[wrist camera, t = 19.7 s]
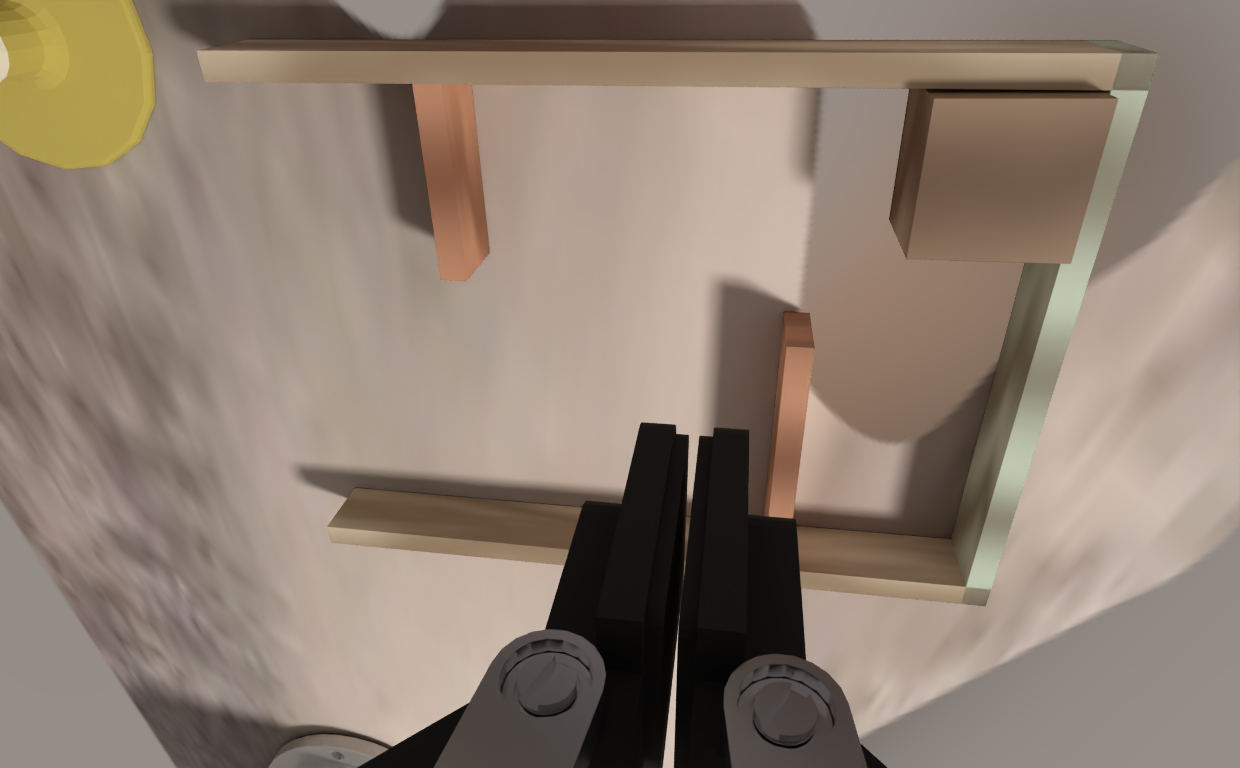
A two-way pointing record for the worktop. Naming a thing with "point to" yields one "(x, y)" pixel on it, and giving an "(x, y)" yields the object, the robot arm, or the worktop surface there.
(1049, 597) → the worktop surface
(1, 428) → the worktop surface
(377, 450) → the worktop surface
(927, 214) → the block
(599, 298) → the worktop surface
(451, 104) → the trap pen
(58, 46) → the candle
